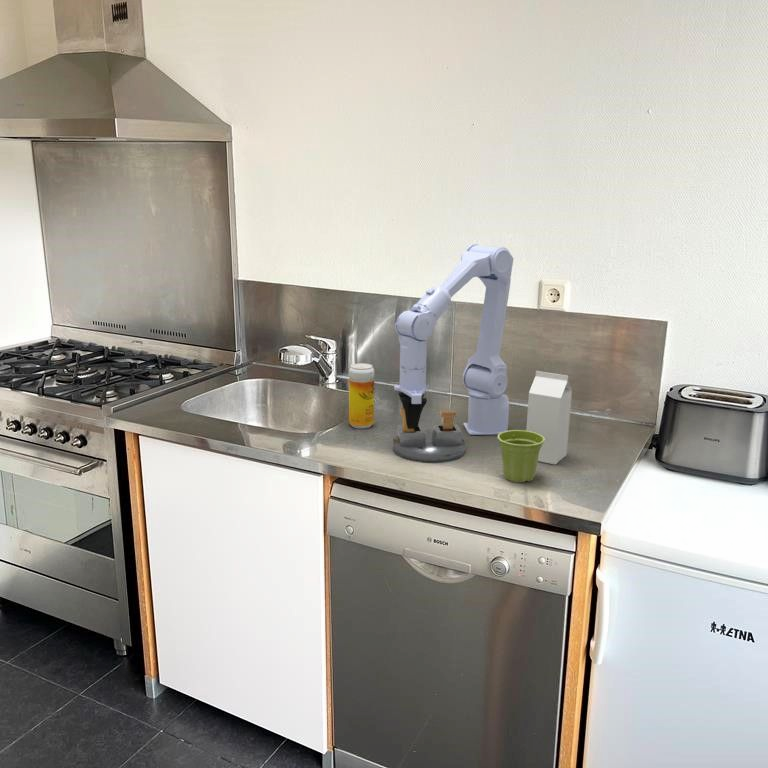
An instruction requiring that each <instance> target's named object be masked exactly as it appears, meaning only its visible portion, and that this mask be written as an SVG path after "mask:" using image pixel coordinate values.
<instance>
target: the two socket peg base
mask: <svg viewBox="0 0 768 768" xmlns="http://www.w3.org/2000/svg"><path fill="white" fill-rule="evenodd" d="M456 413H457V412H456V410H455V409H439V416H440V417H441V423H439V424H432V429H425V428H424V425H423V424H418V427H417V429H414V431H411V432H404V429H403V424H398V425H397V435H396V436H394V438H393V440H392V451H393V452H394V454H395V455H397V456H398V457H399V458H402V459H404V460H408V461H411V462H418V463H427V464H429V463H430V464H435V463H445V462H446V463H447V462H451V461H452V462H453V461H455V460H458V459H461V457H462V456H464V455H465V452H466V451H465V449H466V447H465V446H466V441H465V440H464V438H463V437H462V436H463V432H462V430H461V428H460V426H459V424H457V423H454V418H455V417H457V416H456V415H457V414H456Z"/></svg>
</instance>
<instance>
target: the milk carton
mask: <svg viewBox="0 0 768 768" xmlns="http://www.w3.org/2000/svg"><path fill="white" fill-rule="evenodd" d="M572 395H573V389H572V386H571V385H570V382H569V375H567V374H559V373H554V372H545V371H540V370H535V376H534V378H533V382H532V384H531V387H530V388H529V392H528V402H527V414H526V415H527V417H526V430H525V431H531V432H535V433H538V434H540V435H542V436H543V437H544V438H545V441H544V443H543V444H542V447H541V449H540V451H539V456H538V461H537V462H540V463H545V464H551V465H555V466H556V465H557V464H558V463H559V462H560V461H562V460H563V459H564V458H565V457H566V456H567V454H568V443H569V431H570V430H569V429H570V418H571V409H572V408H571V406H572Z"/></svg>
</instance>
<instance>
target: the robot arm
mask: <svg viewBox="0 0 768 768" xmlns="http://www.w3.org/2000/svg"><path fill="white" fill-rule="evenodd" d="M513 264H514V257H513V255H512V254H511V252H510V251H509V249H508V248H506V247H505V246H498V247H497V246H488V245H479V244H475V243H473V244H470V245H468V247H467V248H466V250H465V251H463V252H462V253H461V256H460V261H459V263H458V264H457V265H456V266H455V268H454V269H452V271H451V272H450V273H449V275H448V276H447V277H446V279H444V281H443V282H442V283H441V285H440V286H439V287H438V286H433V287H429V288H428V289H427V290H426V291H425V294H424V295H423V296H422V297H421V298H419V300H418V301H417V302H416V303H415V304H413V305H412V307H411V309H410V310H404V311H402V313H400V314H399V315H398V317H397V320H396V322H395V323H394V330H395V332H396V334H397V335H398V336H397V337H398V342H399V344H400V345H399V347H400V349H399V384H394V385H393V389H394V391H399V392H398V396H399V399H400V402H401V405H402V408H404V410H405V415H406V423H407V427H408V429H417V427H418V425H420V419H421V415H422V412H423V409H424V408H425V405H426V404H427V403H428V402H427V401H428V400H427V397H426V398H425V397H424V396H425V392H426V391H427V388H428V387H427V385H426V382H427V355H428V353H427V351H428V350H427V349H428V338H430V337H431V336H432V335H433V332H434V329H435V326H436V324H437V321H438V320H439V318H441V317H442V315H444V313H445V312H447V310H448V309H449V308H450V307H451V305H452V298H453V297H454V295H456V294H457V293H458V292H459V291H460V290H461V289H463V287H464V286H465V285H467V284H468V283H469V282H471V280H472V279H473V278H476V277H477V278H478V279H480V281H481V282H482V283H483V286H484V287H485V293H484V300H483V307H482V313H481V320H480V327H479V331H478V332H479V334H478V339H477V347H476V352H475V353H474V355H472V356H470V357H469V358H468V359H467V363H466V366H465V369H464V371H463V373H462V378H461V379H462V384H463V386H464V388H466V393H467V394H468V406H467V407H468V409H467V413H468V414H467V422H463V424H462V425H463V426H464V429H465V430H466V432H467V433H468V435H470V436H471V435H472V436H473V435H474V436H475V435H477V436H478V435H479V436H480V435H481V436H482V435H483V436H484V435H487V436H488V435H489V436H491V435H498V434H500V433H501V432H504V431H509V430H508V429H509V415H510V402H509V397H508V395H507V394H506V393H505V394H504V392H505V391H506V389H507V387H508V383H509V382H508V375H507V374H508V371H507V370H508V366H507V364H506V363H505V361H504V360H503V359H502V357H501V355H500V354H501V349H502V348H501V347H502V342H503V341H502V340H503V333H504V329H505V328H504V327H505V321H506V316H507V315H506V314H507V307H508V301H509V295H510V289H511V280H512V278H511V276H512V271H513Z"/></svg>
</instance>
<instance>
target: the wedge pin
mask: <svg viewBox="0 0 768 768" xmlns="http://www.w3.org/2000/svg"><path fill="white" fill-rule="evenodd" d="M399 408H400V409H399V411H400V413H399V414H400V416H402V425H403V429H404V432H411V431H414V429H408V427H407V423H406V415H405V410H404V408H403V407H399Z"/></svg>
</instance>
